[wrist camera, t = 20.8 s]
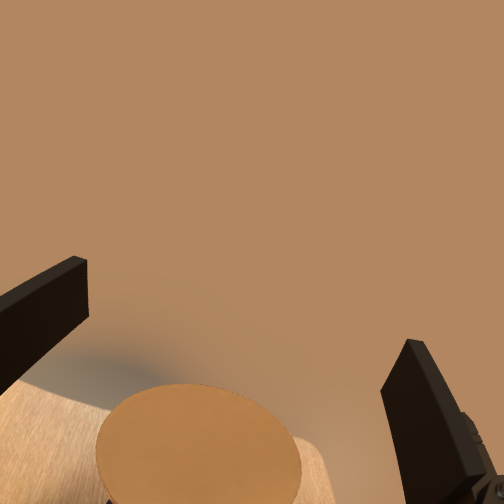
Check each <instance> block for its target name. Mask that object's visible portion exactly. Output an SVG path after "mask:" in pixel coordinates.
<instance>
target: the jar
mask: <svg viewBox="0 0 504 504" xmlns="http://www.w3.org/2000/svg"><path fill="white" fill-rule="evenodd" d="M96 462H97V468H98V472H99V474H100V477H101V480H102V483H103V485H104V488H105V491H106V493H107V495H108V497H109V498H110V500H111V502H112V504H292V503H293V501H294V499H295V497H296V495H297V493H298V490H299V487H300V482H301V475H302V472H301V460H300V455H299V452H298V449H297V447H296V444H295V442H294V440H293V438H292V437H291V435H290V434H289V432H288V431H287V429H286V428H285V427H284V426H283V425H282V424H281V422H280V421H279V420H278V419H277V418H275V417H274V416H273V415H272V414H271V413H270V412H268V411H267V410H266V409H264V408H263V407H262V406H260V405H258V404H257V403H255V402H253V401H252V400H249V399H247V398H245V397H243V396H241V395H238V394H236V393H234V392H230V391H227V390H224V389H220V388H216V387H212V386H206V385H199V384H170V385H163V386H157V387H154V388H150V389H146V390H144V391H142V392H139V393H136V394H134V395H133V396H131V397H129V398H127V399H126V400H124V401H123V402H121V403H120V404H119V405H118V406H117V407H115V408H114V409H113V410H112V411H111V413H110V414H109V415H108V416H107V418H106V419H105V421H104V423H103V424H102V426H101V429H100V431H99V434H98V437H97V442H96Z"/></svg>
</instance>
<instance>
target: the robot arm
mask: <svg viewBox="0 0 504 504" xmlns="http://www.w3.org/2000/svg"><path fill="white" fill-rule="evenodd" d="M88 317H89V309H88V282H87V260H86V259H83V258H80V257H77V256H72V257H70V258H68V259H66V260H64V261H62V262H61V263H59V264H57V265H55V266H53V267H51V268H50V269H48V270H46V271H44V272H42V273H40V274H38V275H36V276H35V277H33V278H31V279H29V280H27V281H26V282H24V283H22V284H20V285H19V286H17V287H15V288H13V289H12V290H10V291H8V292H7V293H5V294H3V295H2V296H0V396H1V395H2V394H3V393H4V392H5V391H6V390H7V389H8V388H9V387H10V386H11V385H12V384H13V383H14V382H15V381H17V380H18V379H19V378H20V377H21V376H22V375H23V374H24V373H25V372H26V371H27V370H28V369H30V368H31V367H32V366H33V365H34V364H35V363H36V362H37V361H38V360H39V359H41V358H42V357H43V356H44V355H45V354H46V353H47V352H48V351H49V350H51V349H52V348H53V347H54V346H55V345H56V344H57V343H59V342H60V341H61V340H62V339H63V338H64V337H66V336H67V335H68V334H69V333H70V332H71V331H72V330H74V328H76V327H77V326H78V325H79V324H81V323H82V322H83V321H84V320H85V319H86V318H88ZM380 392H381V395H382V399H383V403H384V407H385V411H386V415H387V419H388V422H389V426H390V430H391V434H392V439H393V443H394V447H395V452H396V456H397V461H398V465H399V470H400V475H401V480H402V485H403V490H404V495H405V501H406V504H504V475H497V473H496V471H495V468H494V466H493V464H492V461H491V459H490V457H489V454H488V452H487V450H486V448H485V446H484V444H482V442H483V441H482V439H481V437H480V435H478V431H477V429H476V427H475V424H474V422H473V421H472V420H471V419H470V418H469V417H468V416H467V415H466V414H465V412H460V410H459V407H458V405H457V403H456V401H455V399H454V397H453V396H452V394H451V392H450V390H449V388H448V386H447V384H446V382H445V380H444V378H443V376H442V374H441V373H440V371H439V369H438V367H437V365H436V363H435V362H434V360H433V358H432V356H431V354H430V353H429V351H428V349H427V347H426V346H425V344H424V342H423V341H418V340H413V339H407V340H406V342H405V344H404V347H403V349H402V351H401V353H400V355H399V357H398V359H397V361H396V363H395V365H394V367H393V368H392V370H391V372H390V374H389V376H388V378H387V380H386V382H385V383H384V385H383V387H382V389H381V390H380Z"/></svg>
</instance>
